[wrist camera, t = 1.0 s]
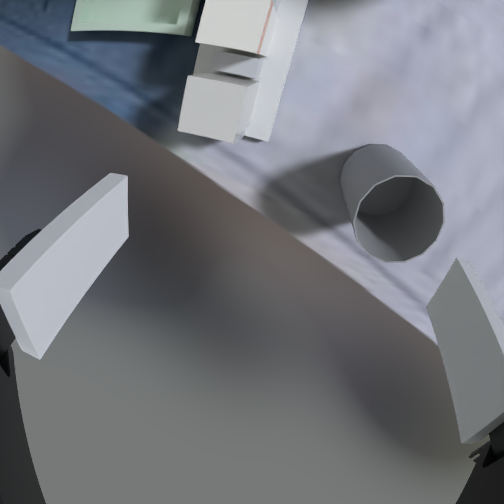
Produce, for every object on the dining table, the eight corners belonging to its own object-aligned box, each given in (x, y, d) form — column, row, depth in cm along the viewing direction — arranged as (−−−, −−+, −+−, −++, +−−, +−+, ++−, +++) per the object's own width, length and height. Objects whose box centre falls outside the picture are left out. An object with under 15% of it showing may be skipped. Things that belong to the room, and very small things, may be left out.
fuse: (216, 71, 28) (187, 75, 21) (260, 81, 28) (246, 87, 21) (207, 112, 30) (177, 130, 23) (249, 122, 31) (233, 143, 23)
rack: (233, -60, 21) (222, -79, 16) (321, -44, 21) (325, -62, 16) (188, 119, 33) (170, 129, 28) (269, 138, 33) (264, 152, 28)
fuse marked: (232, 7, 24) (209, -12, 17) (278, 16, 24) (271, -3, 17) (222, 47, 27) (195, 42, 19) (267, 56, 27) (255, 53, 19)
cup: (373, 128, 30) (400, 153, 22) (425, 175, 32) (461, 215, 24) (325, 185, 35) (333, 229, 26) (377, 226, 36) (397, 278, 28)
